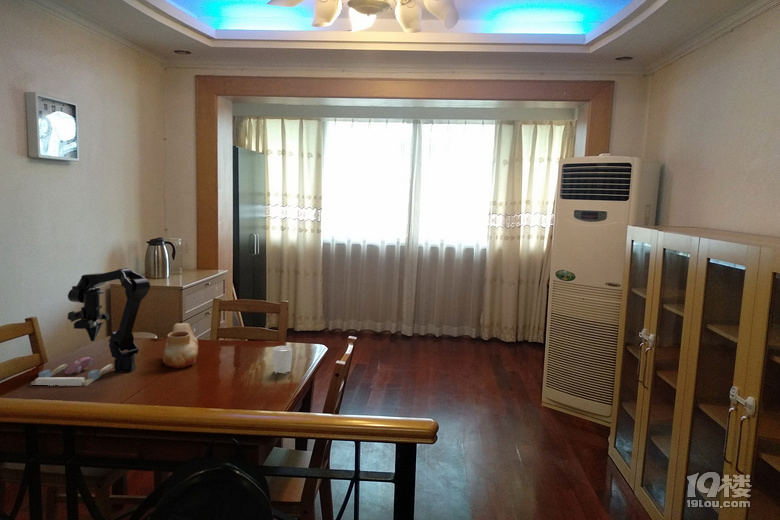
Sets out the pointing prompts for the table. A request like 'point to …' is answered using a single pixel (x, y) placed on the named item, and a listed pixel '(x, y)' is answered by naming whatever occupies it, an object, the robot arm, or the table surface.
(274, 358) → the white cup
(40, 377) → the guide channel
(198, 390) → the table surface
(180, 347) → the ceramic vessel
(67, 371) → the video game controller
